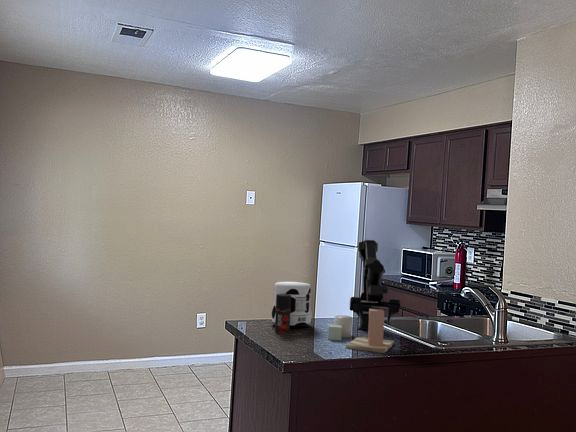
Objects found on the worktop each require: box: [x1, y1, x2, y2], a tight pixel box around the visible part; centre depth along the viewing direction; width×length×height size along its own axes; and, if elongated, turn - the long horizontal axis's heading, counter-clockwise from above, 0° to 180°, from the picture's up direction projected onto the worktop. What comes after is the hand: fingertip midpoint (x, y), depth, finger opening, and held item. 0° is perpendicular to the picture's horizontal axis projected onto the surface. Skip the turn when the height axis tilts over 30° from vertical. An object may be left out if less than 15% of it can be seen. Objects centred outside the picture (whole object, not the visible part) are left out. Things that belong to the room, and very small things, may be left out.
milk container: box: [270, 281, 313, 329], centre depth 237 cm, size 17×17×18 cm
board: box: [345, 336, 395, 354], centre depth 205 cm, size 16×14×1 cm
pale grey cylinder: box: [333, 314, 353, 338], centre depth 222 cm, size 7×7×8 cm
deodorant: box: [274, 294, 291, 335], centre depth 224 cm, size 6×6×15 cm
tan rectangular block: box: [367, 308, 385, 346], centre depth 204 cm, size 5×5×12 cm
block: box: [327, 324, 343, 341], centre depth 216 cm, size 5×5×5 cm
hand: (375, 323), depth 205 cm, fingers open, 9 cm apart
